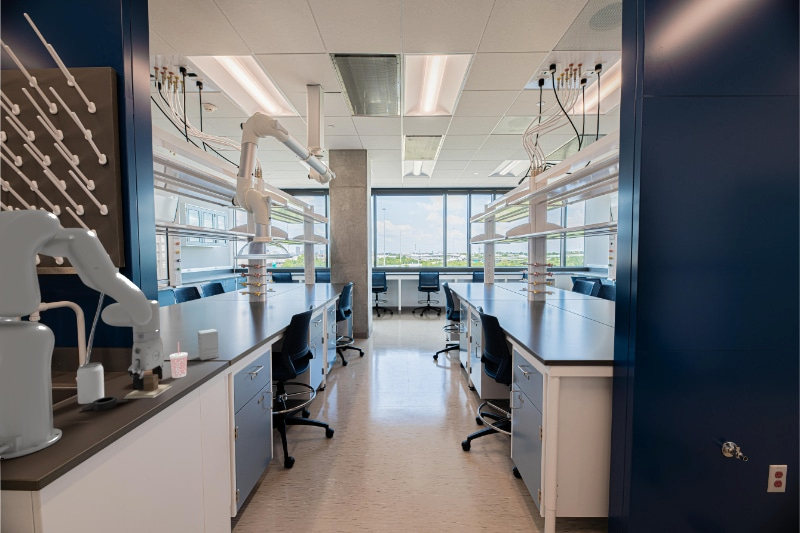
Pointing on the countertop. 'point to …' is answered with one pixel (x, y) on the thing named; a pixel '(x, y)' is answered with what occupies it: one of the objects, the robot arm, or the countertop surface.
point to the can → (90, 383)
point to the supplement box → (208, 344)
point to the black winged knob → (103, 404)
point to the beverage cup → (178, 364)
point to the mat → (149, 397)
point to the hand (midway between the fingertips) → (148, 384)
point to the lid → (149, 387)
